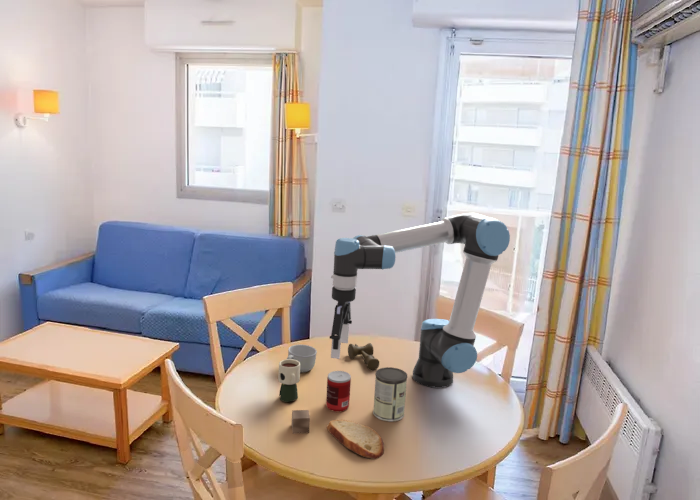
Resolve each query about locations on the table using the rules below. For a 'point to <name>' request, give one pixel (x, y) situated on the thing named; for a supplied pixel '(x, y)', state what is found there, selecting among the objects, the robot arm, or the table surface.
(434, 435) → the table surface
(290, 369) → the character mug
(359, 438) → the slice of bread
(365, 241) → the robot arm
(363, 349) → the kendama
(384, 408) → the coffee can
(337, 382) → the canned food
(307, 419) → the metal block
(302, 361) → the teacup
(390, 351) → the table surface
